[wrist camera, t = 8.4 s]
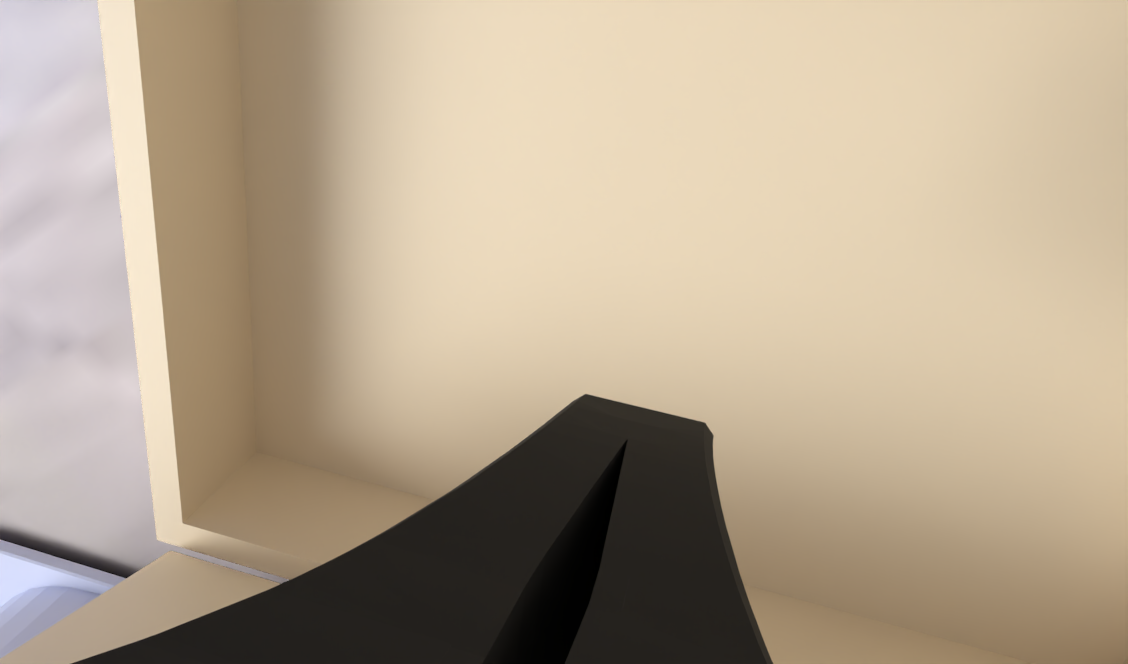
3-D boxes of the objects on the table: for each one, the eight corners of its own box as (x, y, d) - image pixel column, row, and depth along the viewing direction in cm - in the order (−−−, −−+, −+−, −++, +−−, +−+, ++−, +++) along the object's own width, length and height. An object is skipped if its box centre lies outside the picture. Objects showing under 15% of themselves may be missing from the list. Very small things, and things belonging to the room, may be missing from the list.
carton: (1126, 696, 17) (1180, 845, 14) (245, 455, 20) (157, 539, 17) (1618, -170, 10) (1883, -192, 8) (206, -317, 14) (56, -368, 11)
